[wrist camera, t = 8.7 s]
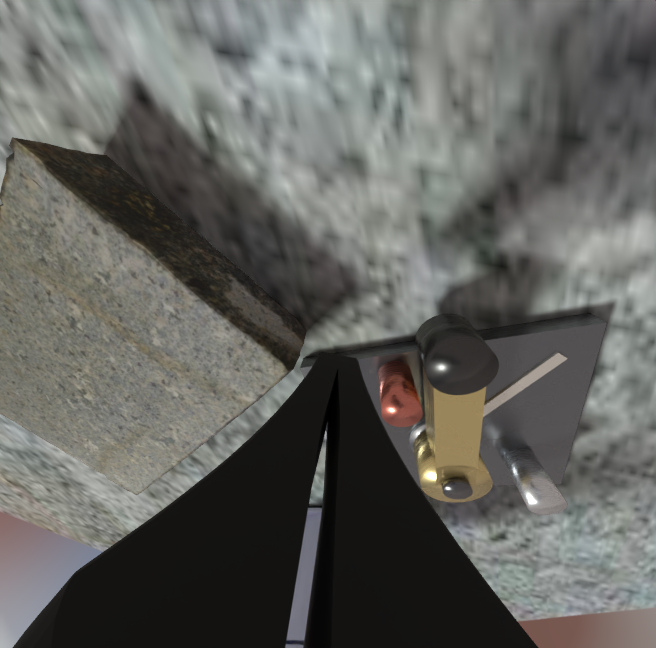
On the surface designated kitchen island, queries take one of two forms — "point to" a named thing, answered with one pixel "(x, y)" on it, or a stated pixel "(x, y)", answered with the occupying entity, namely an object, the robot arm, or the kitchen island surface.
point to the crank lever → (453, 409)
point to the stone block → (123, 319)
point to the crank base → (500, 401)
